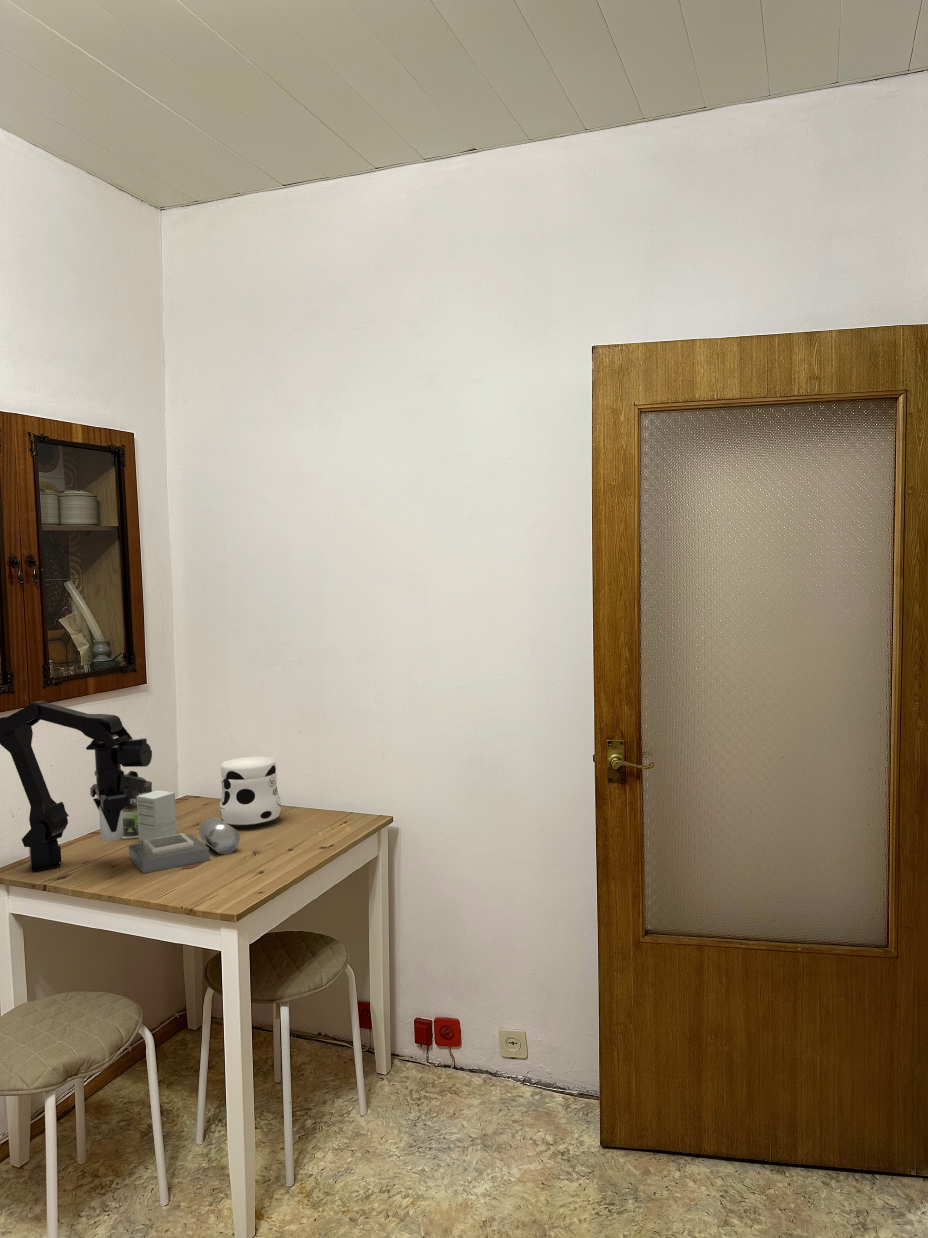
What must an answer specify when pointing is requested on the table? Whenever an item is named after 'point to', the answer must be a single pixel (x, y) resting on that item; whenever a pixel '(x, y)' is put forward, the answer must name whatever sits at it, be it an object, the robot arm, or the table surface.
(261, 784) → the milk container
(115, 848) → the table surface
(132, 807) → the coffee can
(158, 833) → the supplement box
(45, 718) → the robot arm
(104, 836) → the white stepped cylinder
